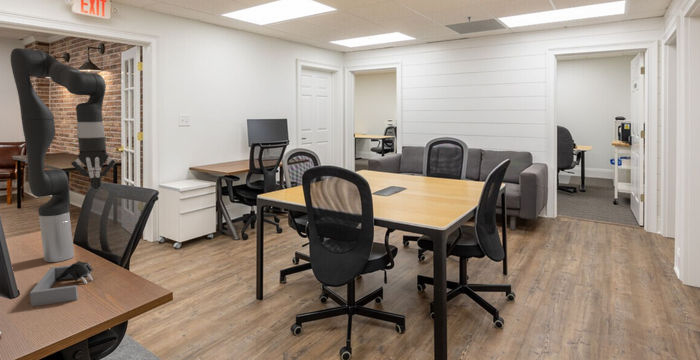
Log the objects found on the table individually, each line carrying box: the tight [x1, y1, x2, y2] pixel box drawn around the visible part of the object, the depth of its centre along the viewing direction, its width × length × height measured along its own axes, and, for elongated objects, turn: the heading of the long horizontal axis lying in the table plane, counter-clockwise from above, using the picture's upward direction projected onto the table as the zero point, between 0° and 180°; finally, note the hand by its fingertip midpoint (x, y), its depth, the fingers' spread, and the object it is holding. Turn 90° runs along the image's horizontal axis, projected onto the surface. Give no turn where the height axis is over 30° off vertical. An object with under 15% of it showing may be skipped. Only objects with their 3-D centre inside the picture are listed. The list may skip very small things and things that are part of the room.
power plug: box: [55, 260, 94, 285], centre depth 136 cm, size 6×8×12 cm
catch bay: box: [29, 262, 92, 307], centre depth 130 cm, size 21×11×4 cm, turn 22°
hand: (96, 188), depth 139 cm, fingers closed
